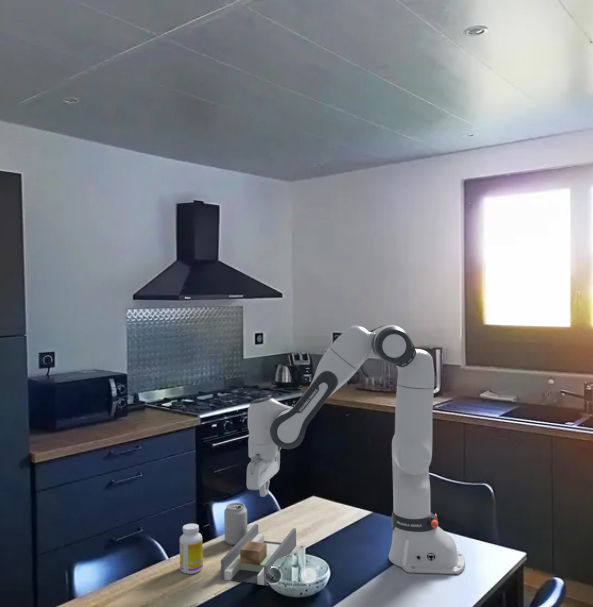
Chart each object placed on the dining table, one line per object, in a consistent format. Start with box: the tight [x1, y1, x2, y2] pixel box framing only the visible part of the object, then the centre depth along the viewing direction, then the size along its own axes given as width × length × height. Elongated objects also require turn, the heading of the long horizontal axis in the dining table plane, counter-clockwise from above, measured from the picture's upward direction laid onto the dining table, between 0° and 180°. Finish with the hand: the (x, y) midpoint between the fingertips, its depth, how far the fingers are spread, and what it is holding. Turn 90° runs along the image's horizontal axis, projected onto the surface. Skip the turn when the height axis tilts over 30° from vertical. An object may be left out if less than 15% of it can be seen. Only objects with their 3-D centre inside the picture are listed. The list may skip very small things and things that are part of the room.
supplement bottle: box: [179, 523, 204, 575], centre depth 175 cm, size 7×7×13 cm
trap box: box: [220, 523, 297, 587], centre depth 180 cm, size 14×28×6 cm, turn 163°
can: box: [223, 502, 248, 546], centre depth 194 cm, size 8×8×12 cm
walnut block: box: [240, 541, 267, 565], centre depth 175 cm, size 6×6×4 cm
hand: (264, 495), depth 182 cm, fingers closed
